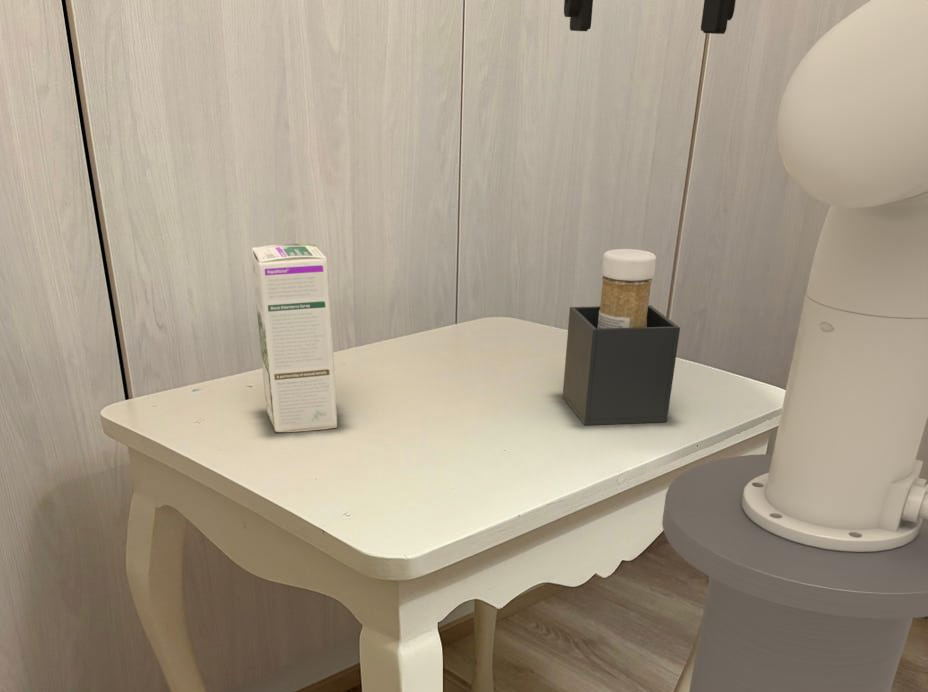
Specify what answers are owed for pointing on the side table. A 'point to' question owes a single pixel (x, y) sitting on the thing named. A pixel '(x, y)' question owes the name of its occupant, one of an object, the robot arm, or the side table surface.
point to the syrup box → (295, 336)
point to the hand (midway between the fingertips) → (646, 31)
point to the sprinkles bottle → (626, 288)
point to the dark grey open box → (619, 368)
